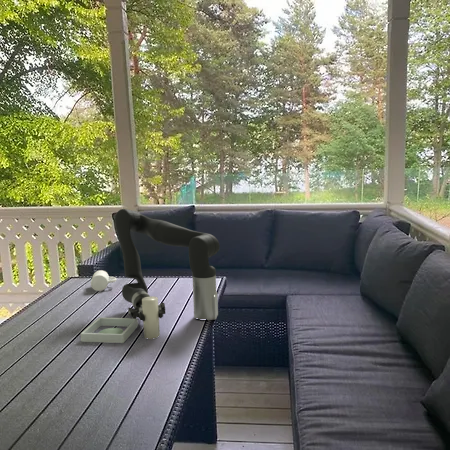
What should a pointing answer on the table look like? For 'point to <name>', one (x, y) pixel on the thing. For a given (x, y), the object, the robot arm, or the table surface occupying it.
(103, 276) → the mug
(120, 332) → the pad
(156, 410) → the table surface
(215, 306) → the robot arm
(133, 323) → the square picture frame
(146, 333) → the canister
